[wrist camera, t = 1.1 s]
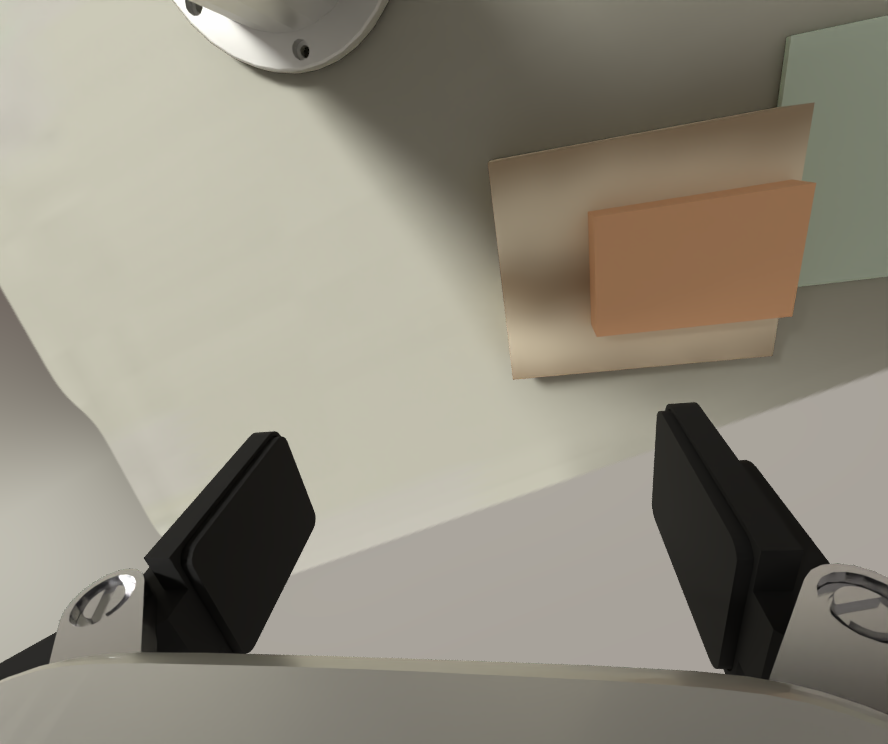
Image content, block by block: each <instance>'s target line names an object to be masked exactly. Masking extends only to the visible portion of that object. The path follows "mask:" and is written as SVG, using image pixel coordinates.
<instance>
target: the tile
mask: <svg viewBox="0 0 888 744" xmlns="http://www.w3.org/2000/svg"><path fill="white" fill-rule="evenodd" d="M815 187H816V183H814V182H807V181H799V180H786V181H780V182H773V183H767V184H761V185H754V186H748V187H742V188H735V189H729V190H723V191H716V192H710V193H703V194H697V195H691V196H684V197H678V198H672V199H665V200H659V201H653V202H646V203H640V204H634V205H627V206H621V207H614V208H608V209H602V210H595V211H589V212H588V235H589V270H590V305H591V325H592V328H593V330H594V332H595V334H596V336H597V337H602V336H611V335H621V334H630V333H640V332H649V331H659V330H668V329H678V328H687V327H697V326H706V325H715V324H725V323H734V322H744V321H753V320H763V319H772V318H782V317H791V316H792V315H793V309H794V304H795V298H796V293H797V287H798V281H799V276H800V270H801V265H802V259H803V254H804V248H805V243H806V237H807V232H808V226H809V220H810V215H811V209H812V204H813V198H814V193H815Z"/></svg>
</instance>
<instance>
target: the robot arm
mask: <svg viewBox="0 0 888 744" xmlns="http://www.w3.org/2000/svg"><path fill="white" fill-rule="evenodd" d="M172 1H173V2H174V3H175V5H176V6H177V7H178V8H179V10H180V11H181V12H182V13H183V15H184V16H185V17H186V19H187V20H188V21H189V22H190V24H191V25H192V26H193V27H194V28H195V29H197V30H198V31H199V32H200V33H201V34H202V35H203V36H204V37H205V38H206V39H207V40H208V41H209V42H210V43H211V44H213V45H214V46H216V47H217V48H219V49H220V50H222V51H224V52H225V53H227V54H228V55H230V56H231V57H233V58H234V59H237V60H239V61H242V62H244V63H246V64H249V65H251V66H254V67H256V68H260V69H264V70H268V71H272V72H278V73H293V74H298V73H303V72H309V71H314V70H319V69H321V68H323V67H326V66H328V65H330V64H332V63H335V62H337V61H339V60H340V59H341V58H343V57H344V56H345V55H347V54H348V53H349V52H351V51H352V50H353V49H355V48H356V47H357V46H358V45H359V44H360V43H361V41H362V40H363V39H364V38H365V37H366V36H367V34H368V33H369V32H370V31H371V30H372V29H373V27H374V26H375V24H376V22H377V21H378V19H379V17H380V15H381V14H382V12H383V10H384V8H385V7H386V5H387V3H388V1H389V0H172ZM201 6H202V7H203V9H202V12H201ZM306 47H309V56H308V58H305V56H304V49H305V48H306ZM652 509H653V514H654V518H655V521H656V523H657V526H658V529H659V531H660V534H661V536H662V539H663V541H664V544H665V547H666V549H667V552H668V554H669V557H670V559H671V562H672V565H673V567H674V570H675V572H676V575H677V577H678V580H679V583H680V585H681V588H682V590H683V593H684V595H685V598H686V600H687V603H688V606H689V608H690V611H691V613H692V616H693V618H694V621H695V623H696V626H697V629H698V631H699V634H700V636H701V639H702V641H703V644H704V647H705V649H706V652H707V654H708V657H709V659H710V661H711V664H712V665H713V667H714V668H716V669H724V672H725V674H718V673H708V672H698V671H682V670H664V669H647V668H629V667H611V666H592V665H564V664H539V663H513V662H487V661H461V660H460V661H459V660H432V659H402V658H370V657H338V656H306V655H305V656H304V655H269V654H246V653H249V652H250V651H251V650H252V649H253V648H254V646H255V644H256V642H257V640H258V638H259V636H260V634H261V632H262V630H263V628H264V626H265V624H266V622H267V620H268V618H269V616H270V614H271V612H272V610H273V608H274V606H275V604H276V602H277V600H278V598H279V596H280V594H281V592H282V590H283V588H284V586H285V584H286V582H287V580H288V578H289V576H290V574H291V572H292V570H293V568H294V566H295V564H296V562H297V560H298V558H299V556H300V554H301V552H302V550H303V548H304V546H305V544H306V542H307V540H308V538H309V536H310V534H311V532H312V530H313V528H314V526H315V519H316V518H315V512H314V510H313V507H312V504H311V502H310V499H309V497H308V494H307V491H306V489H305V486H304V484H303V481H302V478H301V476H300V473H299V471H298V468H297V465H296V463H295V460H294V458H293V455H292V452H291V450H290V447H289V445H288V442H287V440H286V439H285V438H284V437H281V436H280V434H279V433H278V432H275V431H274V432H259V433H253V434H252V435H251V436H250V437H249V438H248V439H247V440H246V441H245V443H244V444H243V445H242V446H241V447H240V448H239V449H238V451H237V452H236V453H235V454H234V455H233V456H232V457H231V459H230V460H229V461H228V462H227V463H226V464H225V465H224V467H223V468H222V469H221V470H220V471H219V472H218V474H217V475H216V476H215V477H214V478H213V479H212V480H211V482H210V483H209V484H208V485H207V486H206V487H205V488H204V490H203V491H202V492H201V493H200V494H199V495H198V496H197V498H196V499H195V500H194V501H193V502H192V503H191V504H190V506H189V507H188V508H187V509H186V510H185V511H184V512H183V514H182V515H181V516H180V517H179V518H178V519H177V521H176V522H175V523H174V524H173V525H172V526H171V527H170V529H169V530H168V531H167V532H166V533H165V534H164V535H163V537H162V538H161V539H160V540H159V541H158V542H157V543H156V545H155V546H154V547H153V548H152V549H151V550H150V551H149V553H148V554H147V555H146V556H145V557H144V559H145V561H146V562H147V564H148V565H149V568H148V570H147V571H146V572H145V573H144V574H143V573H142V572H141V571H139V570H138V569H130V568H129V569H123V570H118V571H116V572H113V573H110V574H108V575H106V576H104V577H102V578H100V579H98V580H97V581H95V582H93V583H92V584H91V585H89V586H88V587H86V588H85V589H84V590H82V591H81V592H80V593H79V594H78V595H77V596H76V597H75V598H74V599H73V600H72V601H71V602H70V604H69V605H68V606H67V607H66V609H65V610H64V612H63V614H62V616H61V619H60V622H59V625H58V630H57V632H56V633H54V634H52V635H50V636H49V637H47V638H45V639H43V640H41V641H39V642H38V643H36V644H34V645H32V646H31V647H29V648H27V649H25V650H23V651H22V652H20V653H18V654H16V655H14V656H13V657H11V658H9V659H7V660H5V661H4V662H2V663H0V744H888V577H886V576H883V575H881V574H879V573H877V572H875V571H872V570H868V569H865V568H862V567H858V566H855V565H847V564H839V563H836V564H830V563H829V562H828V560H827V559H826V558H825V557H824V555H823V554H822V553H821V551H820V550H819V549H818V547H817V546H816V545H815V544H814V542H813V541H812V539H811V538H810V537H809V536H808V534H807V533H806V532H805V530H804V529H803V528H802V526H801V525H800V524H799V522H798V521H797V520H796V519H795V517H794V516H793V515H792V513H791V512H790V511H789V510H788V508H787V507H786V505H785V504H784V503H783V502H782V500H781V499H780V498H779V496H778V495H777V494H776V492H775V491H774V490H773V488H772V487H771V486H770V484H769V483H768V482H767V481H766V479H765V478H764V477H763V475H762V474H761V473H760V471H759V470H758V469H757V467H756V466H754V464H753V463H752V462H750V461H747V460H740V461H739V460H738V458H737V457H736V456H735V454H734V453H733V452H732V450H731V449H730V447H729V446H728V445H727V443H726V442H725V440H724V439H723V438H722V436H721V435H720V434H719V432H718V431H717V429H716V428H715V427H714V425H713V424H712V423H711V421H710V420H709V418H708V417H707V416H706V414H705V413H704V412H703V410H702V409H701V407H700V406H699V405H698V404H697V403H695V402H693V403H679V404H668V405H667V406H666V409H665V411H659V412H658V414H657V422H656V440H655V458H654V476H653V493H652Z"/></svg>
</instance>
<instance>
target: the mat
mask: <svg viewBox="0 0 888 744" xmlns="http://www.w3.org/2000/svg"><path fill="white" fill-rule="evenodd" d="M814 102H815V104H814V110H813V116H812V122H811V128H810V134H809V140H808V146H807V152H806V158H805V164H804V170H803V176H802V181H807V182H814V183H816V187H815V193H814V198H813V204H812V209H811V215H810V220H809V226H808V232H807V237H806V243H805V248H804V254H803V259H802V265H801V270H800V276H799V281H798V287H803V286H812V285H820V284H829V283H837V282H846V281H855V280H863V279H872V278H880V277H888V15H886V16H881V17H877V18H872V19H867V20H862V21H858V22H853V23H848V24H844V25H839V26H834V27H829V28H825V29H820V30H815V31H811V32H806V33H801V34H796V35H792V36H789V37H787V38H786V45H785V53H784V60H783V68H782V75H781V82H780V90H779V97H778V105H777V107H782V106H790V105H798V104H806V103H814Z"/></svg>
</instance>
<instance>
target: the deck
mask: <svg viewBox="0 0 888 744" xmlns="http://www.w3.org/2000/svg"><path fill="white" fill-rule="evenodd" d="M814 104H815V102H814V103H806V104H798V105H790V106H782V107H775V108H770V109H765V110H759V111H754V112H748V113H743V114H738V115H732V116H727V117H722V118H716V119H711V120H705V121H700V122H695V123H689V124H684V125H678V126H673V127H668V128H662V129H657V130H652V131H646V132H641V133H635V134H630V135H625V136H619V137H614V138H608V139H603V140H598V141H592V142H587V143H581V144H576V145H571V146H565V147H560V148H555V149H549V150H544V151H538V152H533V153H528V154H522V155H517V156H511V157H506V158H501V159H495V160H490V161H489V162H488V170H489V179H490V187H491V196H492V205H493V213H494V222H495V230H496V239H497V247H498V256H499V264H500V273H501V281H502V290H503V298H504V307H505V315H506V324H507V333H508V341H509V350H510V358H511V367H512V375H513V380H515V379H526V378H536V377H547V376H558V375H569V374H580V373H591V372H602V371H613V370H624V369H635V368H646V367H657V366H668V365H678V364H689V363H700V362H711V361H722V360H733V359H744V358H755V357H766V356H773V350H774V344H775V338H776V332H777V326H778V320H779V318H772V319H763V320H753V321H744V322H734V323H725V324H715V325H706V326H697V327H687V328H678V329H668V330H659V331H649V332H640V333H630V334H621V335H611V336H602V337H597V336H596V334H595V332H594V330H593V328H592V325H591V305H590V270H589V235H588V212H589V211H595V210H602V209H608V208H614V207H621V206H627V205H634V204H640V203H646V202H653V201H659V200H665V199H672V198H678V197H684V196H691V195H697V194H703V193H710V192H716V191H723V190H729V189H735V188H742V187H748V186H754V185H761V184H767V183H773V182H780V181H786V180H799V181H802V176H803V170H804V164H805V158H806V152H807V146H808V140H809V134H810V128H811V122H812V116H813V110H814Z"/></svg>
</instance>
